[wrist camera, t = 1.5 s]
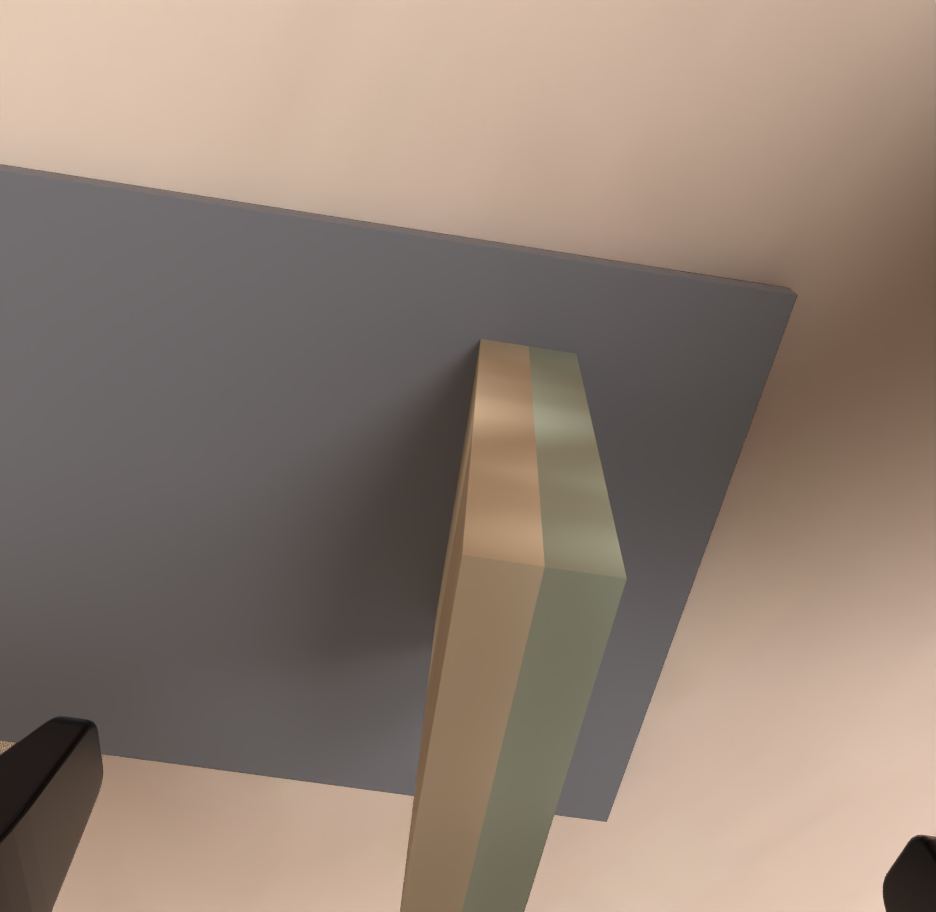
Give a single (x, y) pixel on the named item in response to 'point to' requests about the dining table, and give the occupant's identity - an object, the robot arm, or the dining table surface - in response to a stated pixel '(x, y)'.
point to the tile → (512, 634)
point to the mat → (317, 468)
